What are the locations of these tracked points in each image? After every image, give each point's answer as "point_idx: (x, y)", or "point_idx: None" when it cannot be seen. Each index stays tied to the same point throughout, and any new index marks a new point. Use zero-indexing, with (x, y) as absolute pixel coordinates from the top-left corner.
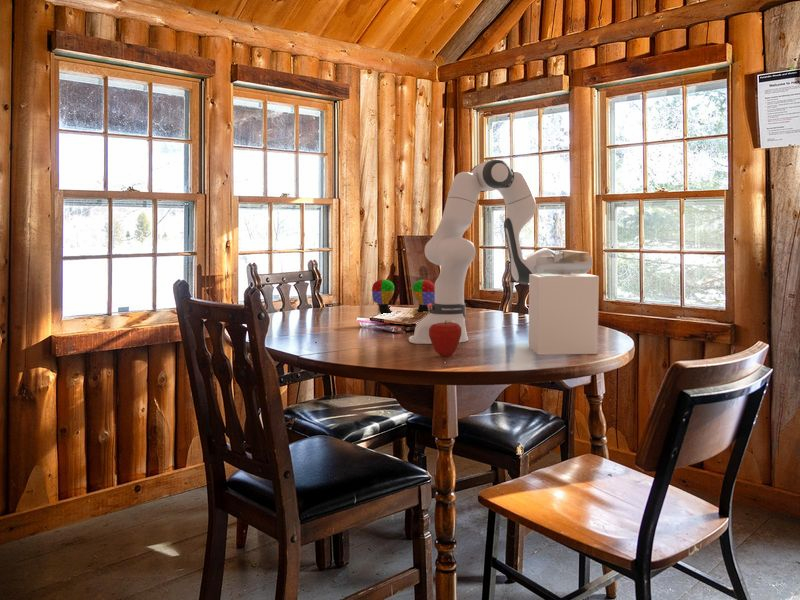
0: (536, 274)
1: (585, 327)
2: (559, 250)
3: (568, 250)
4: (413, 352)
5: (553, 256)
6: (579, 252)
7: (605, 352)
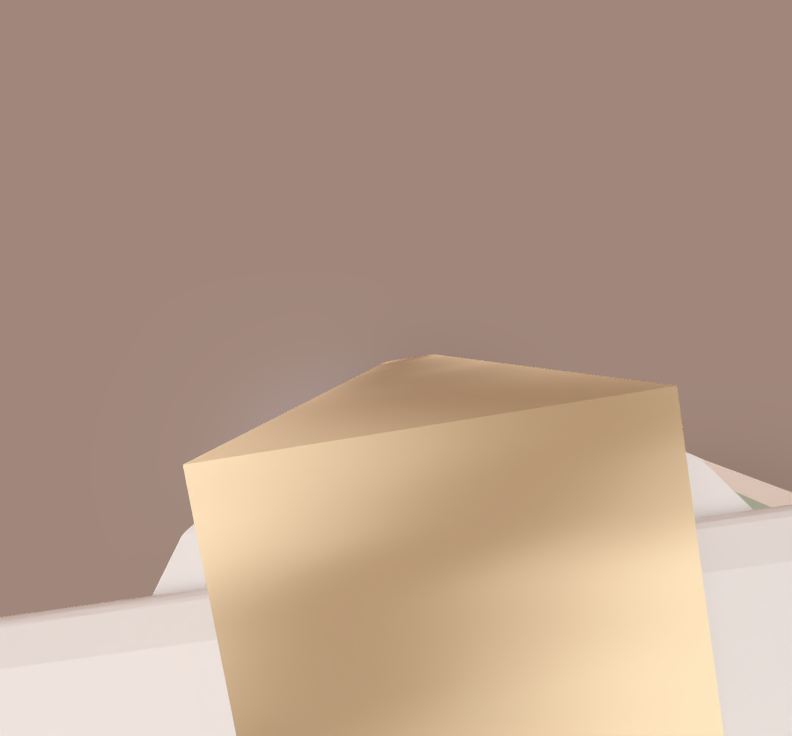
0: (751, 503)
1: None
2: (610, 384)
3: (371, 389)
4: None
5: (777, 507)
6: (425, 355)
7: None
